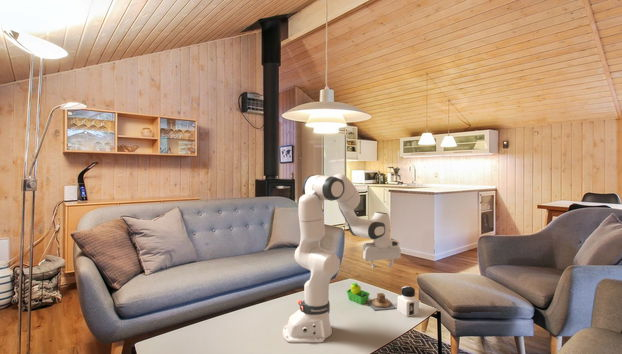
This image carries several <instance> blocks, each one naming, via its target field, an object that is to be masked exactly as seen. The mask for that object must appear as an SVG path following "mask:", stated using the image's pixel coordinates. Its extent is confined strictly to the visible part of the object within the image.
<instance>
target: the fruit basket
mask: <svg viewBox="0 0 622 354" xmlns="http://www.w3.org/2000/svg"><path fill="white" fill-rule="evenodd" d="M346 294H347V296H348V297H347V298H348V300H349V301H352V302H354V303H355V304H358V303H359V304H358V305H361V306H362V305H364V304H366V303H368V302H367V301H368V300H369V296H370V292H368V291H366V290H362V288H361V286H360V285H359V284H357V282H353V283H351V285H350V289H347V290H346Z"/></svg>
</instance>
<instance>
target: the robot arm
mask: <svg viewBox="0 0 622 354" xmlns="http://www.w3.org/2000/svg"><path fill="white" fill-rule="evenodd" d="M301 188H302V189H301V190H302V191H301V193H302V195H301V196H300V197H299V199H298V205H297V206H298V207H297V208H298V211H297V212H298V222H299V223H298V224H299V230H300V231H299V232H300V233H299V234H300V240H299V244H298V246H297V248H296V249H295V251H294V254H293V255H294V260H295V261H296V263H297V264H299V265H300V266H301V267H302V268H304V269H306V270H308V271H310V277H309V279H308V280H307V281H306V282H305V283H304V284H303V286H304V287H303V288H304V289H303V290H304V291H303V292H304V293H303V294H304V298H303V301H302V299H298V300H297V304H298V306H299V308H298V310H296V311H295V312H293V313H292V314H291V315H290V316H289V318H288V321H287V324H285V325H284V326H283V328H282V336H283V339H284V340H285V341H286V342H288V343H295V344H296V343H323V342H324V341H325V340H326V339H327V338H328V337H330V336H331V335H332V333H333V329H332V325H331V320H330V311H331V308H330V307H331V305H330V300H329V298H330V297H329V290H330V282H331V279H332V277H334V276H335V275H336V274H337V273H338V272H339V269H340V267H341V260H340V258H339V256H338V255H336V254H335V253H334V252H332V251H331V250H328V249H325V248H323V247H321V240H322V239H323V238H324V237H325V235H326V226H325V216H324V212H323V211H324V210H323V204H324V203H323V202H324V201H336V202H337V203H338V204H337V205H338V208H339V211H340V213H341V214H342V216H343V219H344V220H345V222H346V223H347V227H348V229H349V232H350V234H351V235H352V236H353V237H361V238H364V239H369V240H373V241H372V242H365V243H364V244H363V245H362V246H363V247H362V250H363V252H362V258H363V260H364V261H366V262H367V261H369V263H370V264H371V268H372V269H376V264H374V261H383V260H390V261H389V262H388V265H387V266H388V268H393V263H394V262H395V260H396V259H400V258H401V257H402V253H401V247H400V241H398V240H397V239H395V238H391V234H390V231H391V219H390V218H391V217H390V215H389V214H388V213H387V212H381V211H375V212H374V214H373V216H372V217H371V218H370V219H366V218H363V217H359V216H357V214H356V212H355V209H356V208H357V207H358V205H359V204H360V202H361V194H360V193H359V190H358V189H357V188H356V187H355V185H354V184H353V182H352V181H351V180H350V179H349V178H348V177H347V176H346V175H345V174H343V173H336V174H334V175H332V176H329V175H325V174H317V175H316V174H312V175H309V176H306V177H305V178H304V180H303V182H302V187H301Z"/></svg>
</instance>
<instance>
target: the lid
mask: <svg viewBox="0 0 622 354" xmlns="http://www.w3.org/2000/svg"><path fill="white" fill-rule="evenodd" d="M385 298H386V295H385V293H384V292H380V293H378V292H377V294H376V297H375V298H373V299H371V300H372V305H373V306H375V307H378V308H387V307H389V306H390V305H391V303H392V302H391V300H389V299H388V298H387V299H385Z"/></svg>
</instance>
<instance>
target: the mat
mask: <svg viewBox="0 0 622 354" xmlns="http://www.w3.org/2000/svg"><path fill="white" fill-rule="evenodd" d="M385 299H388V298H387V297H385ZM366 303H367V304H368V305H369V306H370V307H371V308H372V310H374V312H376V311H387V310H388V311H389V310H396V309H397V306H395V305H394V304H393V303H392V302H391V305H390V306H389V307H387V308H378V307H375V306H373V305H372V299H368V301H367V302H366Z"/></svg>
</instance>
